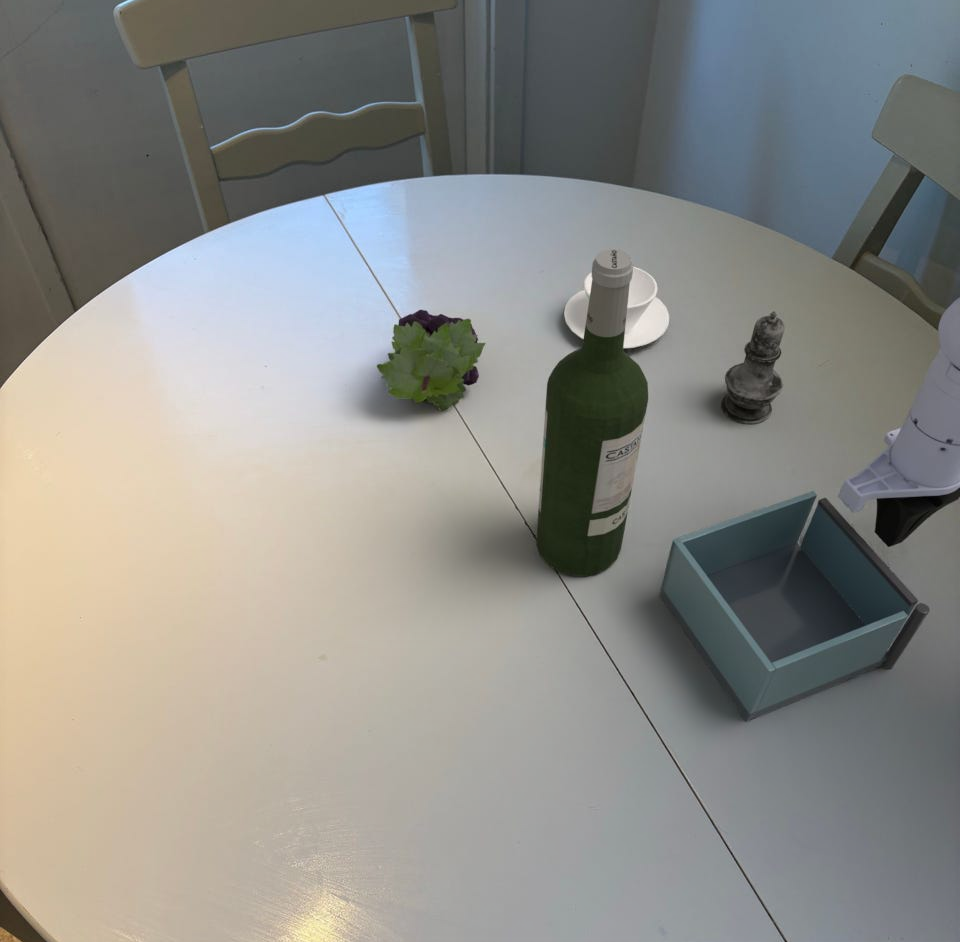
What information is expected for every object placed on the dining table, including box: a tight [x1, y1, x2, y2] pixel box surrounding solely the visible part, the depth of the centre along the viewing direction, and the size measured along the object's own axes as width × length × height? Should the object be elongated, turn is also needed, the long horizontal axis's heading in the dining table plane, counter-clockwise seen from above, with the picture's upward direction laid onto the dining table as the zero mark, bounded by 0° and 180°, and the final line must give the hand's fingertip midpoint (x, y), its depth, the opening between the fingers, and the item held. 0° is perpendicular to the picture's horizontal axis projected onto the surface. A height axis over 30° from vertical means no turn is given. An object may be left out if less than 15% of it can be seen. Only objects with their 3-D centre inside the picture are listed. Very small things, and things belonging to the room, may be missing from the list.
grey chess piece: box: [720, 311, 786, 425], centre depth 92 cm, size 6×6×12 cm
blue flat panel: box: [799, 497, 919, 643], centre depth 78 cm, size 12×2×6 cm, turn 23°
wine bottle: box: [535, 248, 649, 577], centre depth 74 cm, size 8×8×30 cm
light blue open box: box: [659, 490, 930, 722], centre depth 76 cm, size 14×14×8 cm
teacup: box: [563, 266, 670, 350], centre depth 104 cm, size 12×12×5 cm
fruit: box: [376, 309, 486, 412], centre depth 96 cm, size 10×11×15 cm
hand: (887, 536), depth 80 cm, fingers closed
